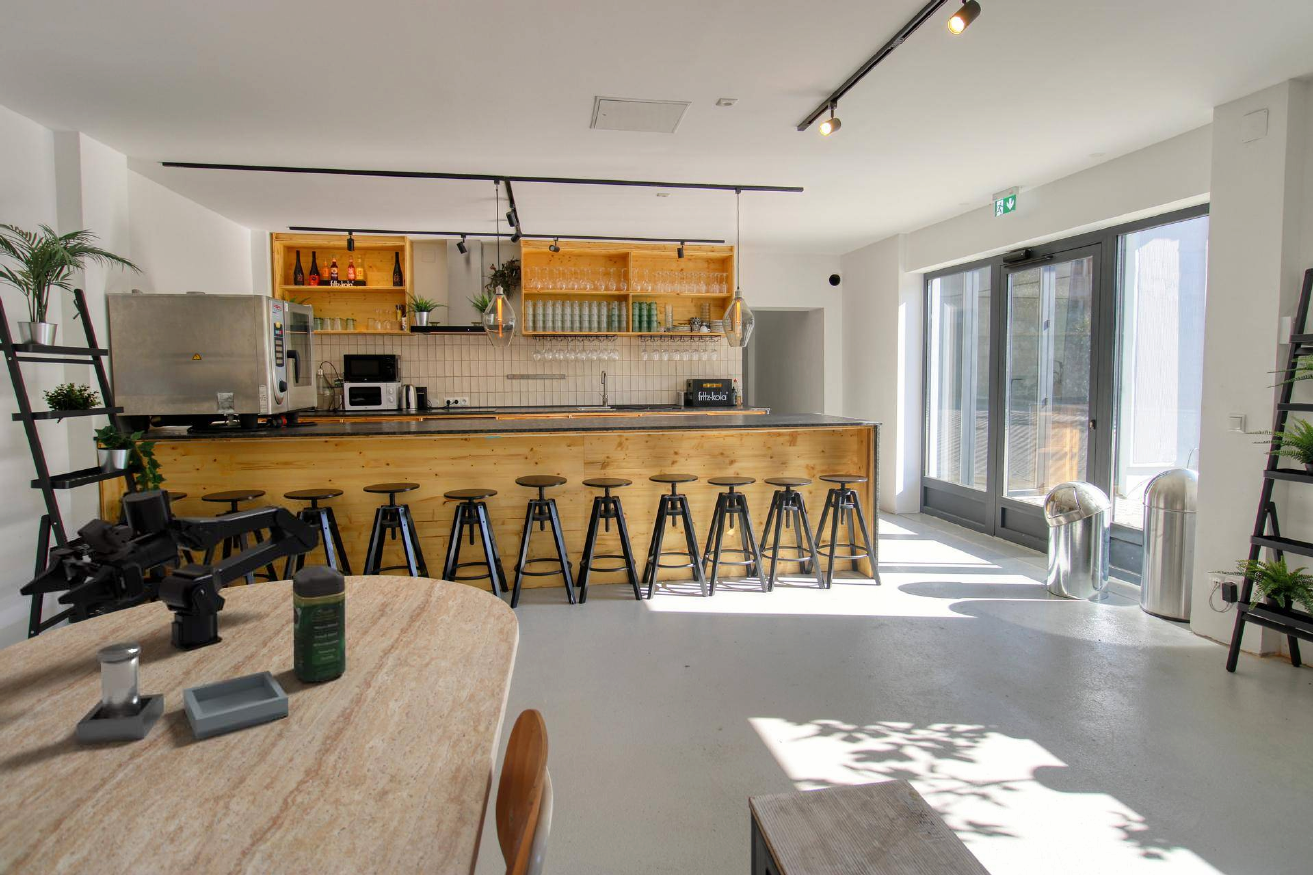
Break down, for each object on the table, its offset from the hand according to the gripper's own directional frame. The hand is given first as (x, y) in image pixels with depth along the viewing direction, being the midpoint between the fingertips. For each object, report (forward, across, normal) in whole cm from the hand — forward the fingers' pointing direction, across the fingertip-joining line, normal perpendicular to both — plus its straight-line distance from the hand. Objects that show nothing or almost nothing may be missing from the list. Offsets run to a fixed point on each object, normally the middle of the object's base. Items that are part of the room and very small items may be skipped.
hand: (39, 597), depth 114 cm
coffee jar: (-22, +31, +21) cm, 43 cm away
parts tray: (-6, +30, +18) cm, 36 cm away
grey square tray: (+4, +20, +16) cm, 26 cm away
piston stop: (+4, +20, +16) cm, 26 cm away
